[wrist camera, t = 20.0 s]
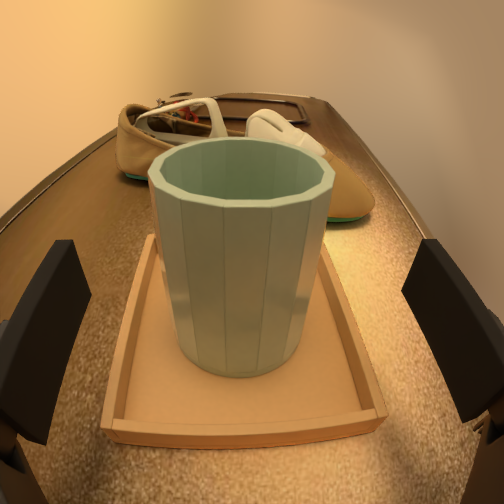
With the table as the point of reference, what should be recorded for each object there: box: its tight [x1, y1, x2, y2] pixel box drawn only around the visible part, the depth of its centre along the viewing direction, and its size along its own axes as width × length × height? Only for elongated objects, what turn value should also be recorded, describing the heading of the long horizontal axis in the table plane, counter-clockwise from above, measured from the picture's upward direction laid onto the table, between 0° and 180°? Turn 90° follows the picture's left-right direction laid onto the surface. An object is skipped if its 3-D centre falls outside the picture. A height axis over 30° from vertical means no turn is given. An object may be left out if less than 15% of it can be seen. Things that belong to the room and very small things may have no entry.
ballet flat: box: [115, 98, 375, 222], centre depth 31 cm, size 11×31×10 cm, turn 71°
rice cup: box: [148, 137, 336, 378], centre depth 16 cm, size 8×8×10 cm
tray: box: [100, 234, 388, 449], centre depth 18 cm, size 13×15×2 cm
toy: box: [157, 98, 198, 123], centre depth 48 cm, size 7×7×15 cm
